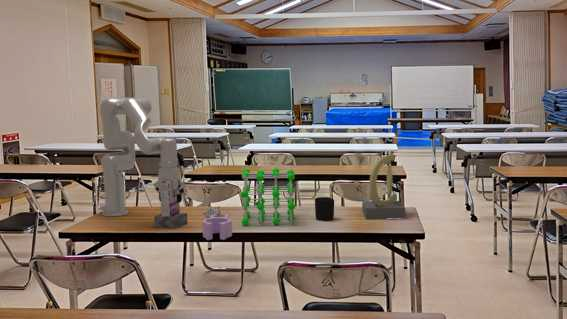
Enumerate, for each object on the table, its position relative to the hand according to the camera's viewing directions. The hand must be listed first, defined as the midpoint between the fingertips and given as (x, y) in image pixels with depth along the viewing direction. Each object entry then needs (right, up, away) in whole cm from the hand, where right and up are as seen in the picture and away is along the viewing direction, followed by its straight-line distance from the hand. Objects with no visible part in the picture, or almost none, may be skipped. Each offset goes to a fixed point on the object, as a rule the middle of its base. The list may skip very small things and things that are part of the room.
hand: (170, 201), depth 286 cm
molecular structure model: (+46, -10, +9) cm, 48 cm away
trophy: (+102, -8, +17) cm, 104 cm away
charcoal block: (0, -11, +1) cm, 11 cm away
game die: (+20, -11, +5) cm, 23 cm away
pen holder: (+73, -9, +10) cm, 74 cm away
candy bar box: (0, -6, +1) cm, 6 cm away
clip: (+24, -13, -18) cm, 33 cm away
